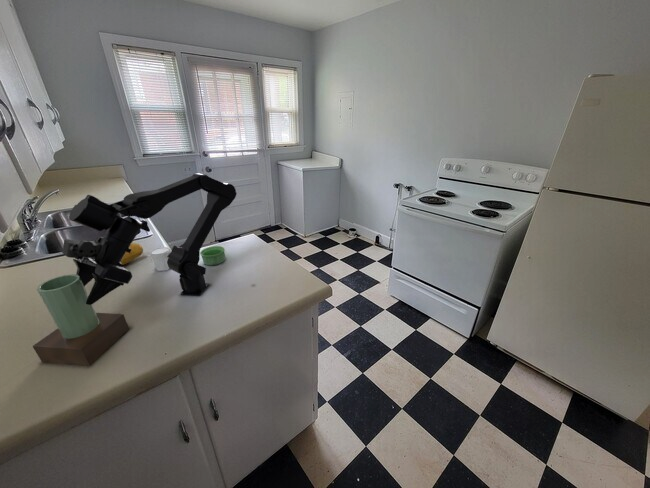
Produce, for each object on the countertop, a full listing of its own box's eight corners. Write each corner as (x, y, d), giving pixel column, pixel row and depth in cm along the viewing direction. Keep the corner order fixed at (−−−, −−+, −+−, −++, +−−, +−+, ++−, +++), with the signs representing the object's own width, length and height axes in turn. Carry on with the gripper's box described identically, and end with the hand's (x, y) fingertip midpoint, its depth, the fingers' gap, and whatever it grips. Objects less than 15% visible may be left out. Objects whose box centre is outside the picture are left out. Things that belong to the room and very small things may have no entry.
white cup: (165, 272, 99) (160, 255, 96) (150, 270, 100) (144, 254, 98) (178, 263, 105) (174, 247, 102) (163, 262, 107) (158, 246, 104)
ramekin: (217, 253, 113) (215, 244, 111) (231, 259, 108) (229, 249, 106) (197, 262, 106) (195, 252, 104) (210, 268, 101) (208, 258, 99)
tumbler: (92, 315, 70) (72, 271, 64) (104, 324, 66) (84, 279, 61) (57, 331, 64) (32, 285, 59) (68, 342, 61) (43, 295, 55)
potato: (102, 268, 102) (96, 252, 99) (137, 253, 114) (132, 238, 111) (115, 272, 100) (109, 255, 97) (150, 256, 111) (145, 241, 108)
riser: (129, 328, 72) (123, 313, 70) (89, 365, 61) (81, 349, 59) (88, 326, 73) (81, 311, 71) (42, 362, 62) (32, 346, 60)
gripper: (67, 217, 65) (26, 276, 62) (97, 232, 56) (50, 304, 52) (115, 236, 75) (81, 289, 71) (148, 252, 65) (111, 314, 61)
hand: (81, 297), depth 64 cm, fingers open, 9 cm apart
